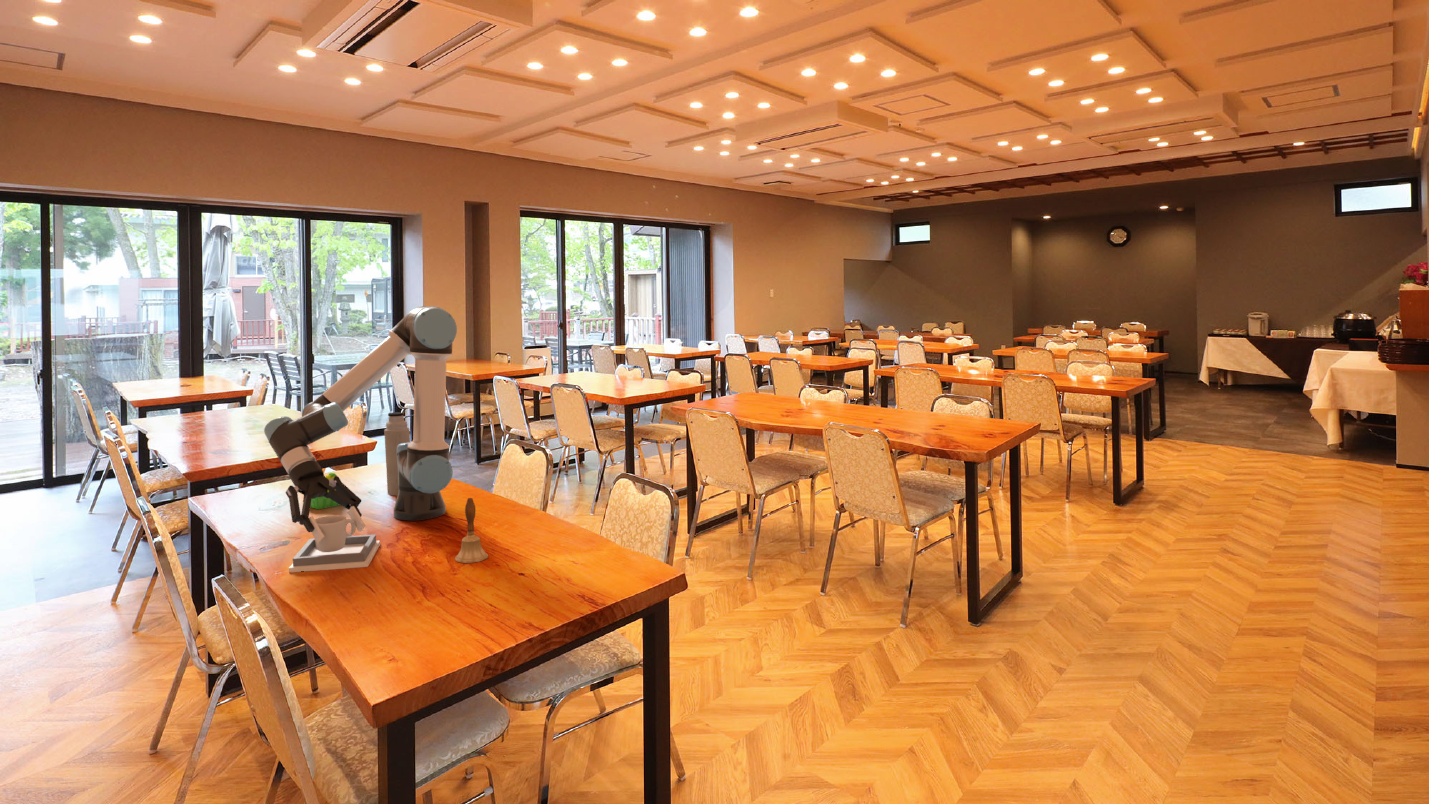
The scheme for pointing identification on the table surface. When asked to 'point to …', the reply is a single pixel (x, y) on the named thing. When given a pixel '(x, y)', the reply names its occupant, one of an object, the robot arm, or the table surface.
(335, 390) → the robot arm
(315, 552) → the gray rimmed square tray
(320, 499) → the fruit basket
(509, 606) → the table surface
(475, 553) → the hand bell
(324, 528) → the cup
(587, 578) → the table surface
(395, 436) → the thermos bottle
